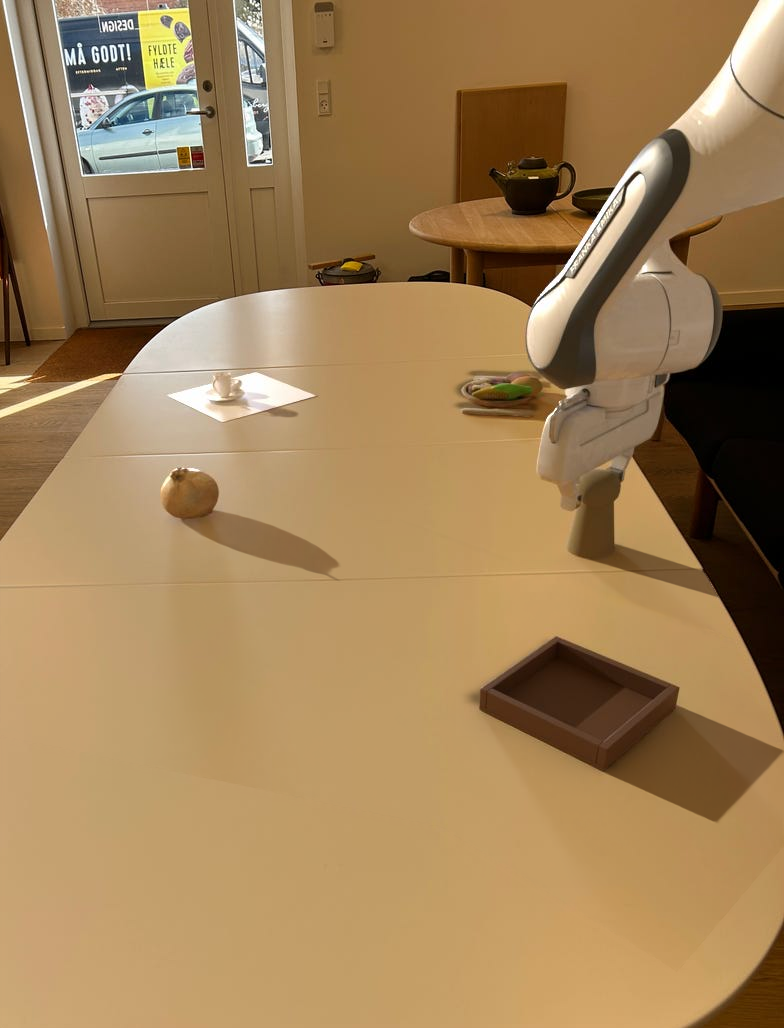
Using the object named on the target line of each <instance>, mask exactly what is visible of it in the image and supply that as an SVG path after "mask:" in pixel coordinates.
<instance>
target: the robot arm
mask: <svg viewBox="0 0 784 1028" xmlns="http://www.w3.org/2000/svg"><path fill="white" fill-rule="evenodd" d="M782 198H784V0H758V2H757V4H756V5H755V8H754V9H753V10H752V12H751V14H750V16H749V18H748V19H747V21H746V23H745V25H744V27H743V29H742V31H741V32H740V34H739V36H738V38H737V40H736V42H735V44H734V46H733V48H732V50H731V52H730V54H729V56H728V58H727V59H726V61H725V63H724V64H723V66H722V67H721V68H720V69H719V71H718V73H717V75H716V76H715V77H714V78H713V79H712V81H711V83H710V84H709V85H708V86H707V87H706V89H705V90H704V91H703V92H702V93H701V94H700V96H699V97H698V98H697V99H696V100H695V102H693V104H692V105H691V106H690V107H689V108H688V109H687V110H686V111H685V112H684V113H683V114H682V115H681V116H680V117H679V118H678V119H677V120H675V122H673V123H672V124H671V125H670V126H669V127H668V128H667V129H665V130H664V131H662V132H661V133H660V134H658V135H657V136H656V137H654V139H652V140H651V141H650V142H648V143H647V144H646V145H645V146H644V147H643V148H642V149H641V150H640V152H639V153H638V154H637V155H636V157H635V158H634V159H633V161H632V162H631V164H630V165H629V167H627V169H626V171H625V172H624V174H623V175H622V176H621V178H620V180H619V181H618V183H617V185H616V186H615V187H614V189H613V191H612V192H611V193H610V195H609V196H608V198H607V200H606V202H605V203H604V205H603V206H602V208H601V209H600V211H599V213H598V214H597V216H596V217H595V218H594V221H593V222H592V224H591V225H590V226H589V229H588V230H587V231H586V233H585V235H584V236H583V238H582V239H581V241H580V242H579V244H578V246H577V247H576V248H575V250H574V252H573V254H572V255H571V257H570V259H568V261H567V263H566V264H565V266H564V268H563V269H562V270H561V271H560V272H559V274H558V275H557V276H556V277H555V278H553V280H552V281H551V282H550V283H549V284H548V285H547V286H546V287H545V289H544V290H543V291H542V293H540V294H539V296H538V297H537V298H536V300H535V302H534V303H533V305H532V307H531V309H530V312H529V314H528V317H527V321H526V327H525V335H524V336H525V339H524V340H525V350H526V355H527V359H528V360H529V363H530V364H531V365H532V367H533V368H534V369H535V371H537V372H538V374H540V376H542V377H543V378H544V379H545V380H546V381H548V382H549V383H551V384H552V385H554V386H555V387H557V388H559V390H564V393H565V396H566V397H564V398H562V399H561V400H559V401H558V402H557V406H556V408H555V409H554V411H552V412H551V413H550V414H549V415H548V416H547V418H546V420H545V423H544V425H543V429H542V433H541V438H540V443H539V448H538V453H537V460H536V467H535V468H536V474H537V476H538V478H539V479H540V480H541V481H544V482H547V483H550V484H553V485H556V486H557V488H558V490H559V493H560V503H559V504H560V508H561V509H562V510H564V511H568V512H573V511H575V510H576V508H578V507H579V506H580V505H581V502H580V501H581V497H582V494H580V493H578V492H577V487H576V484H579V481H580V477H581V476H583V475H585V474H586V473H588V472H590V471H592V470H594V469H598V468H599V467H601V466H603V465H605V464H607V463H608V462H610V463H609V466H608V467H607V468H606V469H605V470H608V471H611V472H613V473H614V474H616V475H617V476H618V477H619V479H620V482H621V483H623V482H624V481H625V475H626V469H627V468H628V466H629V464H630V462H631V459H632V458H633V455H634V453H635V448H636V447H637V446H639V445H641V444H643V443H645V442H646V441H649V440H650V439H651V438H652V437H653V436H654V434H655V432H656V431H657V428H658V425H659V423H660V422H659V421H660V417H661V413H662V408H663V403H664V402H663V401H664V395H665V384H667V383H668V382H669V380H670V376H671V374H676V373H682V372H686V371H688V370H694V369H696V368H698V367H699V366H700V365H701V364H703V362H705V361H706V359H707V358H708V357H709V356H710V354H711V353H712V352H713V350H714V348H715V346H716V344H717V341H718V339H719V336H720V333H721V329H722V323H723V315H724V314H723V309H724V308H723V301H722V299H721V296H720V294H719V292H718V290H717V289H716V287H715V285H713V283H712V282H711V281H710V280H709V279H708V278H707V277H706V276H704V275H703V274H701V273H698V272H693V271H692V270H691V269H690V268H688V266H686V265H685V264H684V263H683V261H681V260H680V259H679V258H678V256H676V254H675V253H674V252H673V250H672V248H671V245H670V239H672V238H674V237H675V236H677V235H679V234H681V233H682V232H684V231H687V230H689V229H691V228H693V227H695V226H698V225H700V224H703V223H706V222H708V221H711V220H714V219H716V218H719V217H722V216H725V215H728V214H731V213H735V212H738V211H742V210H745V209H749V208H753V207H756V206H760V205H764V204H767V203H770V202H774V201H777V200H779V199H782Z"/></svg>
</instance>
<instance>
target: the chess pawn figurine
mask: <svg viewBox="0 0 784 1028" xmlns="http://www.w3.org/2000/svg"><path fill="white" fill-rule="evenodd" d="M576 487H577V492H578V493H580V494H582V497H581V501H580V502H581V505H580V506H579V507H578V508H576V509H575V510H574V514H573V518H572V522H571V525H570V530H569V533H568V537H567V540H566V545H565V548H566V550H567V552H569V553H570V554H571V555H573V556H575V557H579V558H581V559H582V558H583V559H589V560H600V559H603V558H604V559H605V558H608V557H610V556H611V555H613V554H614V553H615V501H616V500H617V499H619V496H620V493H621V489H622V482H620V479H619V477H618V476H617V475H616V474H614V473H613V472H611V471H608V470H606V469H602V468H596V469H594V470H592V471H590V472H588V473H586V474H585V475H583V476H581V477H580V481H579V484H576Z"/></svg>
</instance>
